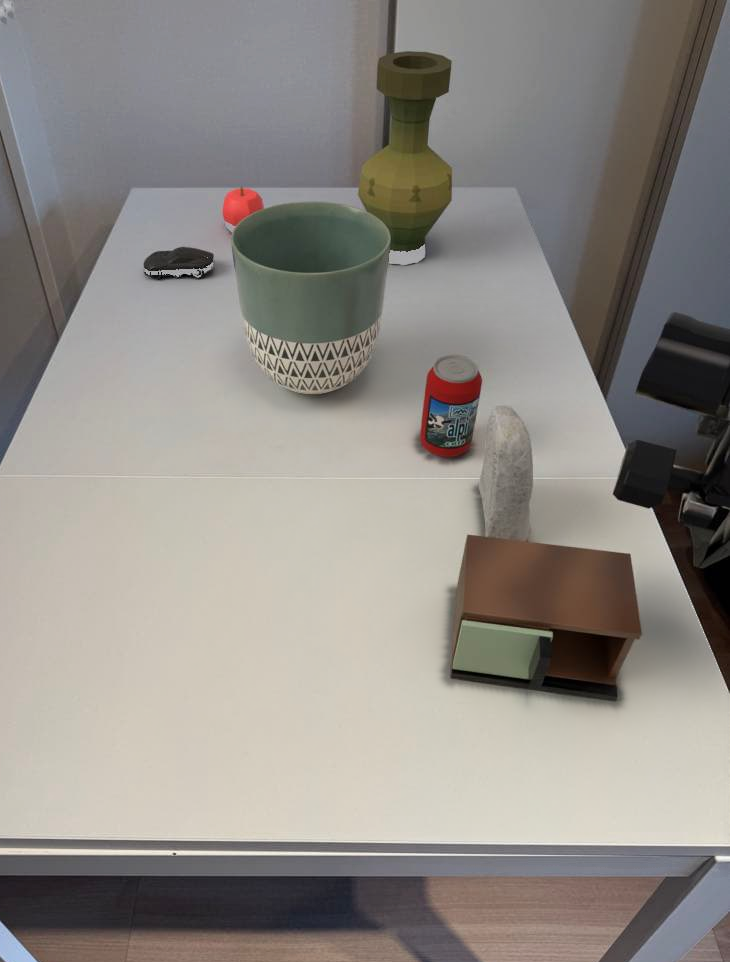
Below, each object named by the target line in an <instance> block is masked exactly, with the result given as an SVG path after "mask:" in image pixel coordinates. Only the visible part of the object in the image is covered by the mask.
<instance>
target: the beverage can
mask: <svg viewBox="0 0 730 962" xmlns="http://www.w3.org/2000/svg"><path fill="white" fill-rule="evenodd" d="M482 386H483V378H482V375H481V373H480V371H479V365H478V364H477V362H476V361H475V360H473V359H472V358H470V357H468V356H465V355H461V354H445V355H443V356H441V357H439V358H437V359H436V360H435V361H434V364H433V366H432V367H431V368H430V369H429V371H428V372H427V374H426V379H425V389H424V396H423V406H422V412H421V421H420V423H421V425H420V433H419V441H420V444H421V445H422V447H423V448H424V449H425V450H426V451H427V452H429V453H431V454H433V455H436V456H440V457H447V458H448V457H449V458H450V457H456V456H460V455H462V454H464V453H466V452H467V451H468V450H469V449H470V447H471V445H472V442H473V441H472V440H473V438H474V437H473V436H474V432H475V426H476V420H477V415H478V409H479V403H480V397H481V393H482V392H481V391H482Z"/></svg>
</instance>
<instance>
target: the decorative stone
mask: <svg viewBox="0 0 730 962" xmlns="http://www.w3.org/2000/svg"><path fill="white" fill-rule="evenodd" d="M531 441H532V440H531V435H530V433H529V431H528V429H527V425H526V423H525V422H524V421H523V419H522V418H521V416H520V414H518V413H517V412H516V410H515V409H514V408H513V407H512V406H509V405H504V404H501V405H496V406H494V407H493V408H492V409H491V411H490V413H489V416H488V421H487V428H486V433H485V445H484V446H485V448H484V455H483V462H482V467H481V472H480V477H479V480H478V490H479V493H480V497H481V502H482V503H481V504H482V511H483V517H484V525H485V532H484V533H485V536H484V537H493V538H501V539H510V540H518V541H526V542H527V540H528V539H529V537H530V532H531V524H530V517H531V509H530V508H531V507H530V503H531V498H532V494H533V488H534V462H533V447H532V442H531Z"/></svg>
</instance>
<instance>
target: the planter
mask: <svg viewBox="0 0 730 962" xmlns="http://www.w3.org/2000/svg"><path fill="white" fill-rule="evenodd" d="M230 243H231V251H232V260H233V266H234V267H233V268H234V272H235V278H236V285H237V292H238V300H239V306H240V313H241V318H242V319H241V321H242V325H243V331H244V335H245V340H246V343H247V346H248V348H249V351H250V353H251V356H252V358H253V360H254V362H255V363H256V365H257V366H258V368H259V369H260V371H262V373H263V374H264V375H265V376H266V377H267V378H268V379H270V380H271V381H272V382H274V383H275V384H276V385H278V386H280V387H282V388H284V389H286V390H289V391H291V392H295V393H299V394H305V395H321V394H327V393H330V392H333V391H336V390H338V389H341V388H342V387H344V386H346V385H348V384H349V383H350V382H352V381H354V379H356V378H357V377H358V376H359V375H360V374H361V373H362V372H363V371H364V370H365V368H366V367H367V365H368V364H369V362H370V360H371V358H372V356H373V353H374V351H375V349H376V346H377V343H378V339H379V336H380V330H381V324H382V323H381V322H382V315H383V307H384V302H385V301H384V300H385V293H386V292H385V291H386V283H387V276H388V268H389V264H388V262H389V253H390V243H391V236H390V232H389V230H388V228H387V226H386V225H385V224H384V223H383V222H382V221H381V220H380V219H379V218H377V217H376V216H374V215H372V214H370V213H368V212H367V211H366V210H364V209H362V208H359V207H355V206H353V205H352V206H351V205H347V204H344V203H337V202H331V201H311V200H309V201H294V202H285V203H281V204H275V205H272V206H267V207H264V209H262V210H259V211H257V212H254V213H252V214H250V215H249V216H247V217H245V218H244V219H243V220H241V221H240V222H239V223H238V224H237V225H236V227H235V228H234V230H233V232H231V236H230Z"/></svg>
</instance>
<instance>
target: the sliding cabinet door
mask: <svg viewBox="0 0 730 962" xmlns="http://www.w3.org/2000/svg"><path fill="white" fill-rule="evenodd" d="M552 638H553V632H550V631H542V630H534V629H527V628H519V627H511V626H504V625H496V624H489V623H481V622H473V621H466V620H462V624H461V628H460V633H459V638H458V642H457V647H456V652H455V656H454V661H453V669H457V670H465V671H472V672H479V673H486V674H494V675H501V676H508V677H515V678H522V679H529V689H528V690H532V691H538V690H540V688H541V685H542V682H543V680H544V677H545V675H546V672H547V669H548V667H549V664H550V661H551V641H552Z"/></svg>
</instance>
